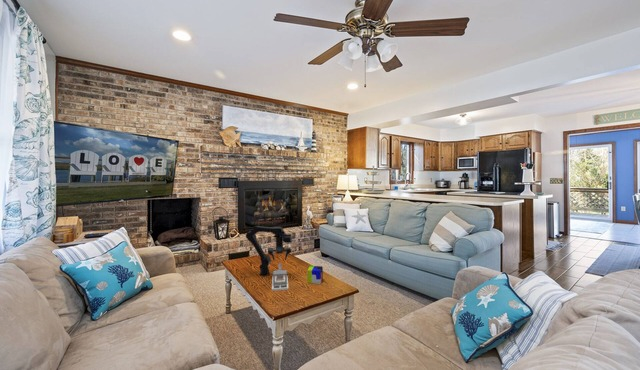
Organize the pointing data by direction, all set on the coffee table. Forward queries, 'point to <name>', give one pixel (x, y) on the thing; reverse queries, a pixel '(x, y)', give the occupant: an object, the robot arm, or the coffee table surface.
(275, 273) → the tunnel
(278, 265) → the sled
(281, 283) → the board
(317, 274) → the puzzle toy
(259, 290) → the coffee table surface
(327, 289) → the coffee table surface
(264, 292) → the coffee table surface
